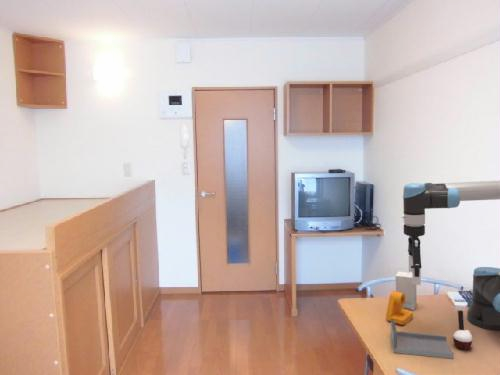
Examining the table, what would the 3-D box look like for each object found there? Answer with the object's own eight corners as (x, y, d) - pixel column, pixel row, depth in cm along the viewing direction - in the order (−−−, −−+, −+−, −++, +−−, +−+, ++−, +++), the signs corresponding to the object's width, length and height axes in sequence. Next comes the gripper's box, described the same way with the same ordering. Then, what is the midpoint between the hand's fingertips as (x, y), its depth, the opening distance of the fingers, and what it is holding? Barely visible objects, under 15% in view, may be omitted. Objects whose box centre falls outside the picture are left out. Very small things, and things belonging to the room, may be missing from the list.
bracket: (402, 327, 162) (403, 299, 160) (386, 321, 167) (386, 294, 165) (413, 318, 169) (414, 291, 168) (397, 313, 174) (397, 287, 173)
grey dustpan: (445, 340, 150) (446, 323, 149) (453, 358, 138) (454, 340, 137) (390, 335, 155) (390, 318, 154) (393, 352, 143) (393, 334, 142)
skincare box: (416, 305, 181) (417, 273, 179) (414, 311, 175) (415, 277, 173) (397, 301, 185) (398, 270, 183) (394, 307, 180) (395, 274, 178)
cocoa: (469, 355, 140) (471, 325, 138) (450, 349, 144) (452, 320, 142) (473, 343, 148) (476, 313, 146) (455, 337, 152) (457, 309, 149)
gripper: (400, 217, 162) (401, 266, 164) (406, 232, 138) (407, 289, 141) (420, 217, 159) (420, 267, 162) (429, 232, 136) (429, 290, 139)
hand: (414, 277), depth 151 cm, fingers open, 13 cm apart
